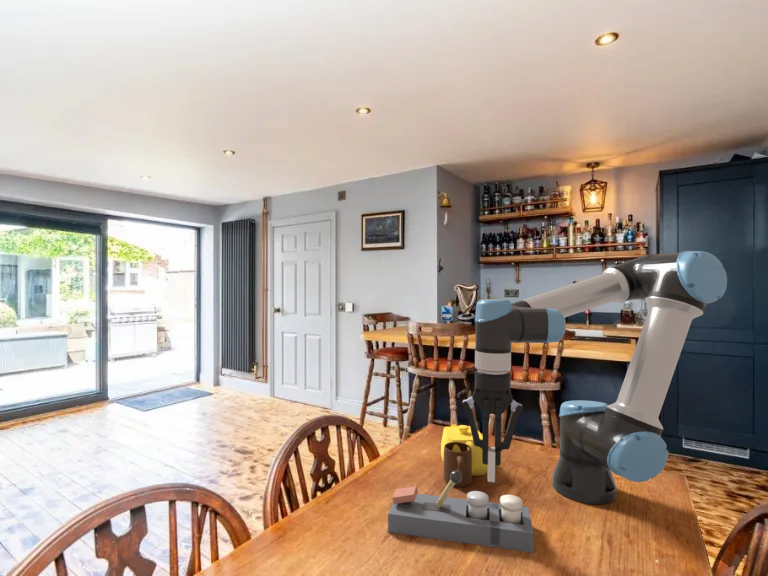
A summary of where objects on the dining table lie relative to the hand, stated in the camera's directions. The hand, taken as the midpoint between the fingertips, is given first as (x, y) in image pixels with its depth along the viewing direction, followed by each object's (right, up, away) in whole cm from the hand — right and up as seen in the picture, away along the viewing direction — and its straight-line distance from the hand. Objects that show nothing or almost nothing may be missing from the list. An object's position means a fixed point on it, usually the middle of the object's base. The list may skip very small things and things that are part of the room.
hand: (491, 479), depth 89 cm
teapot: (0, -12, +34) cm, 36 cm away
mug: (-3, -12, +21) cm, 25 cm away
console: (-7, -12, +2) cm, 14 cm away
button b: (-3, -9, +1) cm, 9 cm away
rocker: (-18, -6, +4) cm, 20 cm away
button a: (+4, -9, -1) cm, 10 cm away
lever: (-11, -8, +3) cm, 14 cm away
